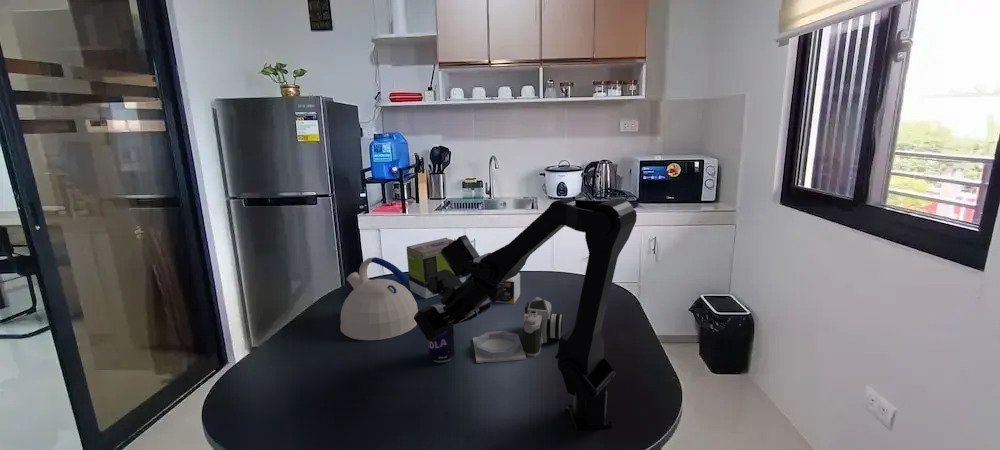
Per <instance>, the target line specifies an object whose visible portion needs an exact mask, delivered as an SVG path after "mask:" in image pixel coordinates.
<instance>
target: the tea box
mask: <svg viewBox="0 0 1000 450" xmlns="http://www.w3.org/2000/svg"><path fill="white" fill-rule="evenodd" d="M453 241H455V240H454V239H451V238H448V237H444V238H439V239H436V240H431V241H426V242H422V243H417V244H412V245H409V246H408V245H407V246H406V259H407V267H408V268H407V270H408V271H407V272H408V282H409V283H408V284H409V291H410V292H411V293H414V294H417V295H418V296H420V297H422V298H423V299H425V300H427V299H430V298H433V297H435V296H436V297H437V296H440V295H439V294H438V293H437V294H432V293H431V292H430V291H429V290H428V289H427V287H426V285H427V280H428V279H430V276H433V274H434V273H437V272H439V271H442V270H445V269H447V270H449V271H451V272H452V273H453V274H454V272H453V271H452V269H451V268H450V267H449V265H448V264H447V262H446V261H445V259H444V258H443V256H442V255H441V253H440V252H441V250H442V249H443V248H444V247H446V246H448V245H449V244H450V243H452V242H453ZM454 275H455V274H454ZM466 277H467V276H465V277H462V275H460V276H458V278H459V279H460V280H461V282H462V283H464V282H465V281H466V280H467V278H466Z"/></svg>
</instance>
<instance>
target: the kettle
mask: <svg viewBox="0 0 1000 450" xmlns="http://www.w3.org/2000/svg"><path fill="white" fill-rule="evenodd" d="M371 263H374V264H377V265H379V266H381V267H384V268H385V269H387V270H389V272H390V273H392V274H394V275H395V276H396V278H397V279H398V280H399V281H400V282H401V283H403V282H406V281H409V277H407V276H406V273H404V272H403V271H402V270H401V269H400V268H398V267H397V266H396V265H394V264H393V263H391V262H389V261H388V260H385V259H383V258H380V257H375V256H374V257H368V258H366V259H365V260H363V261H362V263H361V264H360V267H359V270H358V272H356V271H354V272H352V273H350V274H349V275H348V276H347V278H346V281H347V282H348V283H349V284H350V285H351V287H352V288H353V290H351V292H350V293H349V294H348V296H347V297H346V298H345V300H344V302H343V304H342V308H341V310H340V332H341V333H342V334H343V335H345V336H346V337H348V338H351V339H354V340H359V341H381V340H388V339H393V338H395V337H396V338H397V337H399V336H402V335H404V334H406V333H408V332H410V331H411V330H413V329H414V328H415V327H416V326H418V325H417V323H416V321H415V320H414V315H415V314H416V313H417V312H418V311H419V309H418V303H417V302H416V300H415V297H414V295H413V294H412V291H411V290H410V289H409V290H408V288H407V287H406V286H404V285H403V284H401V283H399V282H398V281H396V280H393V279H386V278H376V279H375V278H374V279H369V276H368V267H369V265H370V264H371Z"/></svg>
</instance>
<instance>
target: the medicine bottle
mask: <svg viewBox="0 0 1000 450" xmlns="http://www.w3.org/2000/svg"><path fill="white" fill-rule="evenodd" d="M500 285H501V286H504V292H505V297H504V298H502V299H500V300H498V301H496V302H495V303H502V304H503V303H504V304H513V305H514V304H515V303H516V302H517V300H518V298H519V297H520V296H521V273H520V272H519V273H518V274H517V275H516V276H514V277H512V278H510V279H508V280H506V281H504V282H502V283H500ZM490 302H492V300H491V299H490Z"/></svg>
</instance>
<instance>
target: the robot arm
mask: <svg viewBox="0 0 1000 450" xmlns="http://www.w3.org/2000/svg"><path fill="white" fill-rule="evenodd" d="M637 215H638V214H637V211H636V210H635V208H634V207H633V205H632V204H631V203H630V202H629V201H628V200H625V199H624V198H617V197H616V198H614V199H609V200H607V201H605V200H591V199H590V200H589V199H588V200H587V199H577V198H572V197H564V198H561V199H557V200H553V202H551V203H550V204H549V206H548V207H547V209H546V210H545V211H543V212H542V213H541V214H540V215H538V217H537V218H535V219H534V220H533V221H532V222H531V223H530V224H529V225H528V226H527V227H525V228H524V229H523V230H522V231H521V232H520V233H518V235H517V236H516V237H515V238H513V239H512V240H511V241H510V242H509V243H507V244H506V245H504V246H501V247H500V248H499V249H495V251H492V252H486V253H484V254H482V255H480V254H479V252H478V251H477V249H475V247H474V245H473V244H472V243H471V241H470V239H469V237H468V236H467V235H466V234H463V235H461V236H458V237H457V239H455V240H454V241H453V242H452V243H450V244H449V245H448V246H446V247H444V248H443V249H442V250H441V252H440V253H441V255H442V256H443V258H444V259H445V261H446V262H447V264H448V265H449V267H450V268H451V269H452V271H453V272H454V274H455V275H454V274H453V273H452V272H451V271H449V270H447V269H445V270H442V271H439V272H437V273H434V274H433V276H430V279H428V280H427V285H426V287H427V289H428V290H429V291H430V292H431V293H432V294H437V293H438V294H439V295H438V296H440V297H441V299H440V300H439V301H440V302H441V303H440V304H443V305H445V306H444V307H443V310H444V311H445V312H443V313H441V314H439V312H438V311H437V309H436V308H435V307H434V306H432V305H431V304H430V305H428V306H426V307H424V308H422V309H418V312H417V313H416V314H415V315H414V320H415V321H416V323H417V325H416V326H417V327H418V328H419V329H420V330H421V332H422V334H423V335H424V337H425V339H426V340H427V341H428V340H429V341H432V340H434V339H436V338H438V337H440V336H442V335H443V334H445V333H447V332H448V331H447V327H448V326H449V323H450V322H452V321H453V326H454V325H457V324H461V323H465V322H468V321H471V320H472V319H475V318H476V317H478V316H479V315H482V314H484V313H486V312H487V311H489V310H490V308H491V306H492V305H491V302H492V303H497V302H496V301H498V300H500V299H502V298H504V297H505V292H504V286H501V285H500V283H502V282H504V281H506V280H508V279H510V278H512V277H514V276H516V275H517V274H518V273H520V271H521V270H522V269H523V267H525V265H526V263H527V260H528V258H529V257H530V256H531V255H532V254H533V253H535V252H536V250H538V249H539V248H540V247H542V246H543V245H544V244H545V243H546V242H548V241H549V240H550V239H551V238H552V237H553V236H555V234H556V233H558V232H560V230H562V229H563V228H564V227H568V228H569V229H572V230H574V231H576V232H581V233H584V237H585V239H584V240H585V242H586V243H585V244H586V246H587V250H588V258H587V263H586V268H585V269H586V270H585V272H584V278H583V283H582V286H581V287H582V288H581V292H580V297H579V301H578V308H577V312H576V318H575V321H574V326H573V327H572V328H571V329H569V330H568V331H567V332H566V333H564V334H562V336H561V337H560V339H558V351H557V353H556V355H555V356H554V359H557V369H558V370H559V371H560V373H561V375H562V379H563V382H564V385H565V388H566V391H567V393H568V394H569V395H571V396H573V403H572V404H568V405H567V411H568V412H569V415H570V418H571V420H572V422H573V425H574V426H575V428H576V430H580V431H581V430H590V429H600V428H602V429H603V428H611V427H613V425H614V422H613V421H612V419H611V417H610V415H609V413H608V412H607V411H608V410H607V400H608V386H607V385H608V384H609V383H610V381H613V379H614V377H615V375H616V373H617V370H616V369H615V367H614V366H613V365H612V363H611V362H610V361H609V360H608V358H607V357H606V356H605V340H604V337H603V333H602V327H603V323H604V319H605V315H606V310H607V307H608V301H609V297H610V294H611V293H610V292H611V289H612V284H613V279H614V277H615V276H614V274H615V270H616V267H617V262H618V258H619V256H620V253H621V252H622V250H623V248H624V246H625V245H626V244H627V242H628V240H629V238H630V236H631V234H632V232H633V230H634V227H635V225H636V223H637V219H638V218H637ZM460 275H462V277H465V276H466V277H467V278H466V281H465V282H464V283H462V282H461V280H460V279H459V278H458V276H460ZM491 300H492V301H491ZM477 309H478V311H476V310H477ZM449 316H450V317H449ZM448 317H449V318H448ZM446 318H447V319H446ZM444 319H445V320H444Z"/></svg>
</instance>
